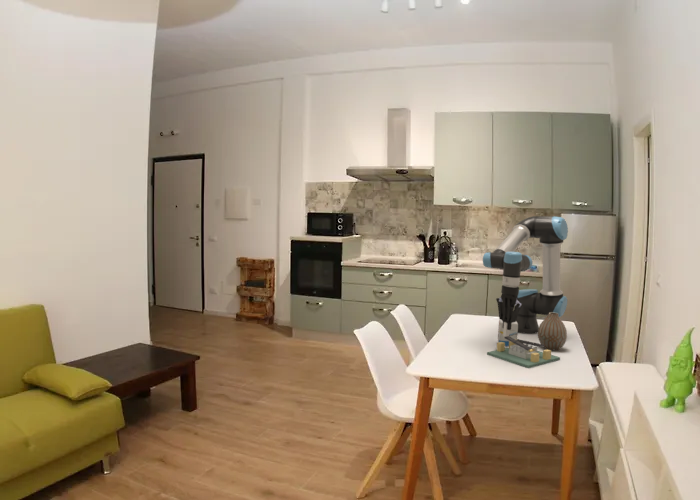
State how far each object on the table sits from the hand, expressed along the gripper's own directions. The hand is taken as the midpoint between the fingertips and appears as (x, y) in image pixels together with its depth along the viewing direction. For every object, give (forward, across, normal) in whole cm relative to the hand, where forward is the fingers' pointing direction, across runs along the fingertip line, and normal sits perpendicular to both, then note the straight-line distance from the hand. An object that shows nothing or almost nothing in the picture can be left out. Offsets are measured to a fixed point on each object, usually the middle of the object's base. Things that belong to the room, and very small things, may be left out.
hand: (506, 335), depth 222 cm
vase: (+9, +5, +29) cm, 31 cm away
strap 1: (+2, +7, 0) cm, 7 cm away
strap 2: (+3, +7, +8) cm, 11 cm away
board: (+9, +7, +4) cm, 12 cm away
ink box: (+10, -11, +16) cm, 22 cm away
